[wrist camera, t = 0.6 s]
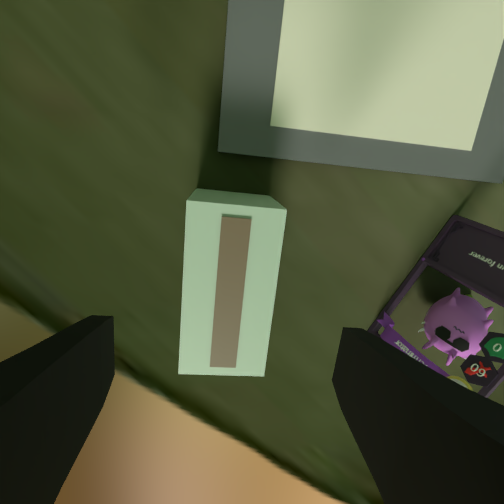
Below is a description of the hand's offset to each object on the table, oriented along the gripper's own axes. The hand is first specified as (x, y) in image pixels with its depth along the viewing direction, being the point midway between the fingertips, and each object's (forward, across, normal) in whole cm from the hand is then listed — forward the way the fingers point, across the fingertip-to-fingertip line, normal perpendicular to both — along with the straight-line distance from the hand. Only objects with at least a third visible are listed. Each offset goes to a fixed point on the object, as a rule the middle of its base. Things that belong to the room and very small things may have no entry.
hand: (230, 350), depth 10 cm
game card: (+9, -14, +1) cm, 16 cm away
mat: (+9, -7, -12) cm, 16 cm away
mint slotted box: (+9, 0, 0) cm, 9 cm away
